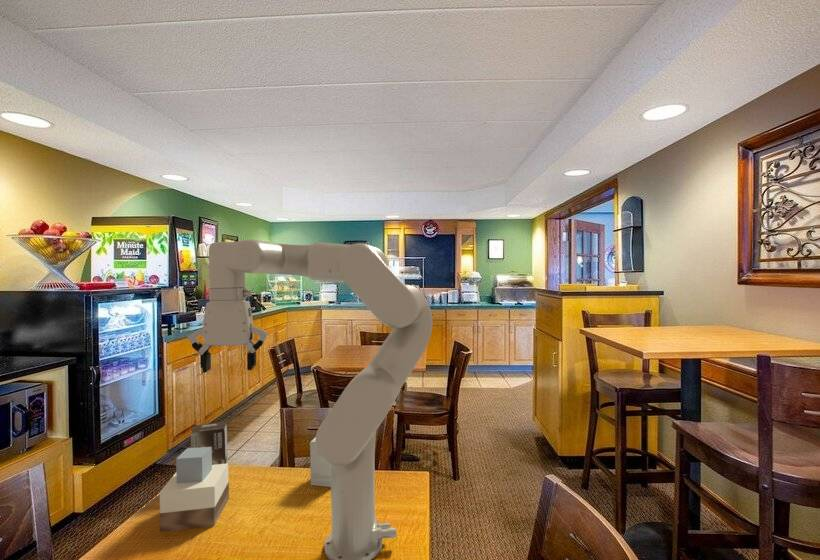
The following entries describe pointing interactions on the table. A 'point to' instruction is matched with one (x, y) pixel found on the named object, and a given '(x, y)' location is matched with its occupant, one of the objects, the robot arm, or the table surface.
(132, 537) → the table surface
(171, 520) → the tower base block
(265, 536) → the table surface
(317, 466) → the supplement box
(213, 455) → the coffee box
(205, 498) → the tower top block
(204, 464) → the stack block
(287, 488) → the table surface
